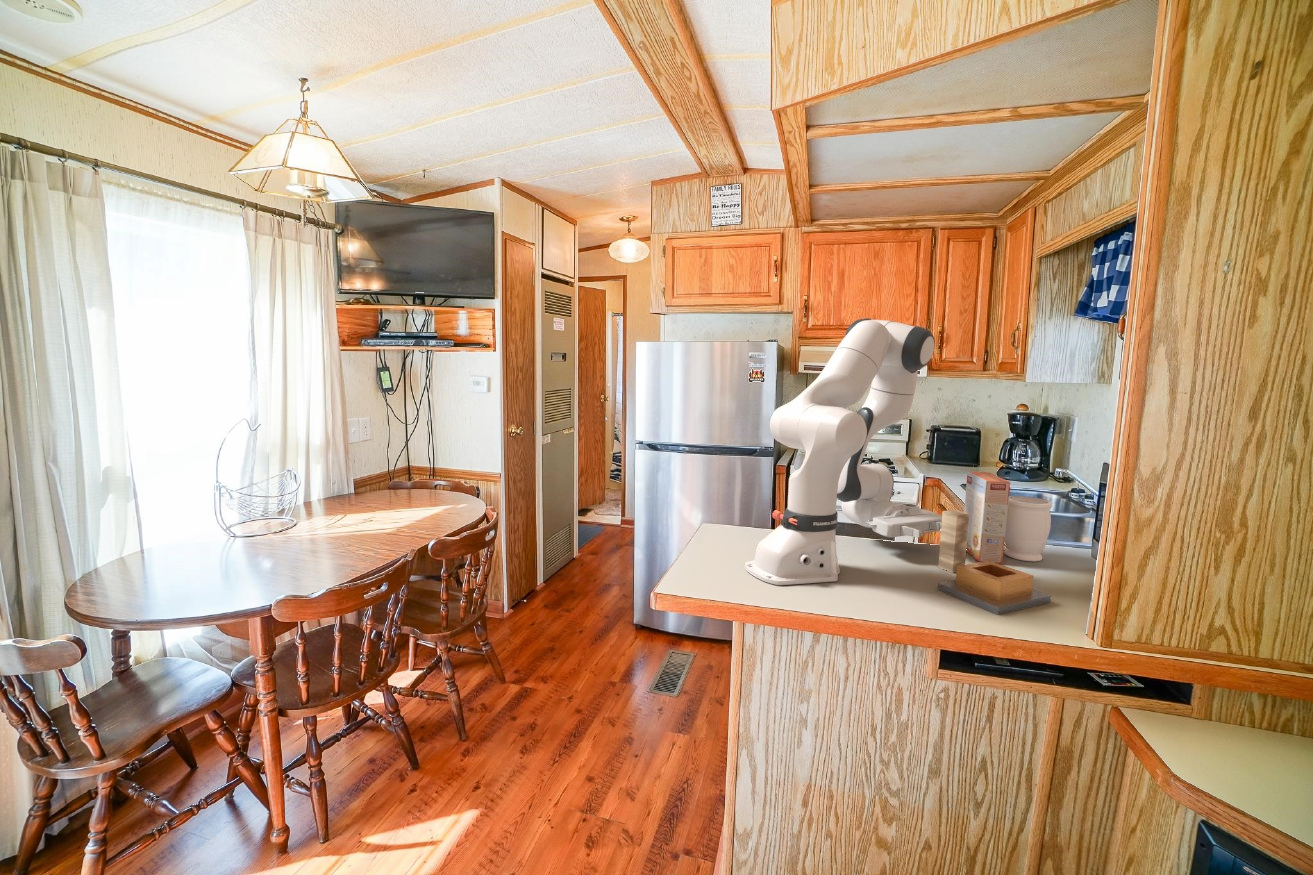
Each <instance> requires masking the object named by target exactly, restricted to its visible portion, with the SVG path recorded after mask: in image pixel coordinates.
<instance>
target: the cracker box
mask: <svg viewBox="0 0 1313 875" xmlns="http://www.w3.org/2000/svg"><path fill="white" fill-rule="evenodd" d="M965 486H966V487H965V498H964V507H963V508H964V509H963V512H965V513H969V522H968V534H967V546H966V549H967V550H966V553H968V554H969V555H971V556H972V557H973V558H974V559H975V560H976V561H977V562H984V561H992V562H995V563H998V564H1000V565H1003V560H1004V551H1005V532H1006V522H1007V512H1008V503H1009V496H1010V491H1011V490H1010V489H1011V481H1009V480H1006V479H1004V478H1002V477H1000V476H998V475H996V474H993V473H991V472H987V471H967V474H966V484H965Z"/></svg>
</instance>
